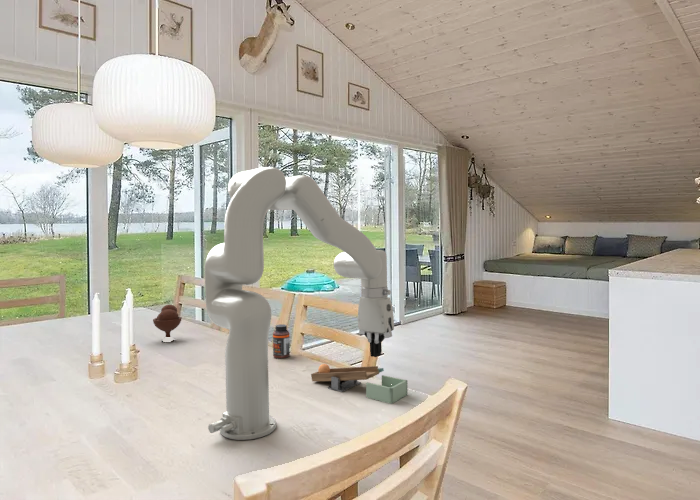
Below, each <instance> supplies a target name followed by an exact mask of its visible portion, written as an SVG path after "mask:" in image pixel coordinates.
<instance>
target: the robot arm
mask: <svg viewBox="0 0 700 500" xmlns="http://www.w3.org/2000/svg"><path fill="white" fill-rule="evenodd" d="M227 185H228V187H227V191H228V195H229V197H230V201H229V203H228V206H227V208H226V212H225V215H224V232H223V235H224V236H223V242H222V243H219V244H216V245H215V246H214V247H212V248H211V249H210V251H209V252H208V254H207V256H206V259H205V262H204V263H205V264H204V289H205V290H204V292H205V308H206V312H207V313H206V314H207V315H208V318H209V319H210V321H211V322H212V323H213V324H214V325H215V326H218V327H220V328H223V329H226V330H229V332H228V337H227V341H226V344H225V352H224V359H225V360H224V361H225V363H224V364H225V366H224V367H225V399H226V400H225V401H226V404H225V405H226V411H224V412H223V413H222V417H221V418H220V419H219V421H214V422H212V423H209V424H208V426H207V429H208V432H209V434H210V433H211V434H214V433H217V432H218V431H219V433H220V435H222V436H223V437H225V438H227V439H230V440H237V441H247V440H255V439H258V438H262V437H266V436H267V435H269V434H270V433H272V432H274V430H275V429H276V427H277V420H276V418H275V417H274V416H272V415H270V391H269V390H270V387H269V386H270V384H269V382H270V381H269V335H270V327H271V324H272V323H271V321H272V309H271V308H272V307H271V305H270V302H269V301H268V299H267V298H266V297H265V296H263V295H262V294H261V293H258V292H255V291H252V290H246V289H243V286H250V285H254V284H256V283H258V282H259V280H261V278H262V276H263V275H264V274H263V273H264V268H265V267H264V266H265V262H264V261H265V258H264V257H265V255H264V223H265V218H266V215H267V213H268V211H270V210H271V211H292V210H293V211H294V212H295V213H296V215H297V216H298V217H299V218H300V221H302V222H303V224H304V225H305V226H306V228H307V229H308V230H309V232H310V233H311V235H312V236H313V237H314V238H315V239H317V240H319V241H321V242H322V243H325V244H327V245H330V246H332V247H335V248H337V249H339V250H341V251H342V252H340V253H338V254H337V255H336V256H335V258H334V260H333V268H334V272H336V273H337V274H338V276H341V277H343V278H347V279H360V293H361V296H360V297H359V301H358V309H357V326H358V327H357V328H358V329H359V331H358V333H359V334H360V335H363V336H364V337H365V338H366V339H367V342H368V343H369V352H370V357H374V358H377V357H379V356H381V355H382V352H383V351H382V349H383V348H382V343H383V341H384V340H385V339H390V338H392V337H393V333H392V331H394V329H395V318H394V310H393V309H394V308H393V304H392V300H391V297H389V295H391V293H392V291H391V290H390V289H389V287H388V267H387V266H388V265H387V264H388V261H387V260H388V259H387V257H388V256H387V252H386V251H385V250H382V249H377V248H376V247H375V246H374V244H373V242H372V241H371V240H370V238H369V237H367V235H366V234H364V233H363V232H362V231H360V230H359V229H358V228H356V227H355V226H353V225H352V224H351V223H349V222H348V221H346V220H345V219H344V218H342V217H341V216H340V215H339V213H338V212H337V210H336V209H335V207H334V206H333V204H331V202H330V200H329V199H328V198H327V196H326V195H325V193H324V192H323V190H322V189H321V188H320V185H319V184H318V183H317V182H316V181H315V180H314V179H313V178H312V177H311V176H308V175H306V174H305V175H302V174H300V175H293V176H287V177H286V176H285V174H284V172H283V171H282V170H281V169H278V168H276V167H273V166H263V167H258V168H257V167H256V168H254V169H249V170H243V171H239V172H237V173H236V174H233V176H232V177H231V178H230V180H229V181H228V184H227Z"/></svg>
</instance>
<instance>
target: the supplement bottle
mask: <svg viewBox="0 0 700 500" xmlns="http://www.w3.org/2000/svg"><path fill="white" fill-rule="evenodd" d="M287 328H288V327H287V325H286V324H283V323H282V324H276V325H275V330H274V331H273V333H272V355H273V358H276V359H285V358H286V357H287V358H289V357H290V356H291V354H290V353H291V352H290V351H291V350H290V349H291V348H290V346H291V345H290V343H291V342H290V340H291V338H290V336H291V335H290V331H289V330H288V329H287Z"/></svg>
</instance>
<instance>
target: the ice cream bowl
mask: <svg viewBox="0 0 700 500" xmlns="http://www.w3.org/2000/svg"><path fill="white" fill-rule="evenodd" d="M152 322H153V324H154V326H155V327H156V328H157V329H158V330H160V331H162V332H164V333H165V337H171V332H172V331H174V330H175V329H177V328H178V327H179V326H180V324H181V323H182V316H179V314H178V309H177V306H175V305H173V304H166V305H164V306H163V307H162V308H161V311H160V312H159V314H158V315H157V317H155V318H153V319H152Z"/></svg>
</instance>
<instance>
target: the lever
mask: <svg viewBox="0 0 700 500" xmlns="http://www.w3.org/2000/svg"><path fill="white" fill-rule="evenodd" d="M384 371H385V370H384V367H379V366H378V365H373V366H372V365H371V366H356V367H355V366H353V367H350V366H349V367H336V368H333V367H331V368H330V372H329V373H319V372H318V371H316V372H313V373H311V374H310V375H311V382H331V377H333V376H335V377H339V378H340V381H344V380H357V381H365V380H369V379H371V378H373V377H375V376H378V375H379V374H380V373H382V372H384Z"/></svg>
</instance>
